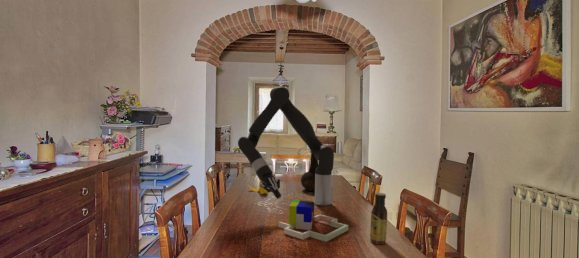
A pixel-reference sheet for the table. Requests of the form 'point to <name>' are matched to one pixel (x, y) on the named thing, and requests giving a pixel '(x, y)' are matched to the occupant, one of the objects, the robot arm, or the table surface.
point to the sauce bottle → (379, 220)
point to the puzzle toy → (301, 214)
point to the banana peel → (262, 190)
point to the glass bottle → (310, 175)
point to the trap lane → (320, 219)
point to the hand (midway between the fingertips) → (279, 197)
